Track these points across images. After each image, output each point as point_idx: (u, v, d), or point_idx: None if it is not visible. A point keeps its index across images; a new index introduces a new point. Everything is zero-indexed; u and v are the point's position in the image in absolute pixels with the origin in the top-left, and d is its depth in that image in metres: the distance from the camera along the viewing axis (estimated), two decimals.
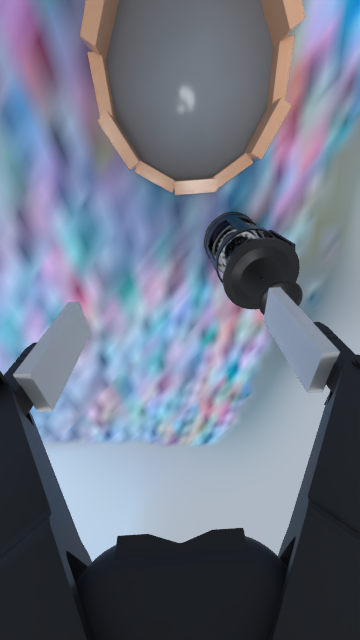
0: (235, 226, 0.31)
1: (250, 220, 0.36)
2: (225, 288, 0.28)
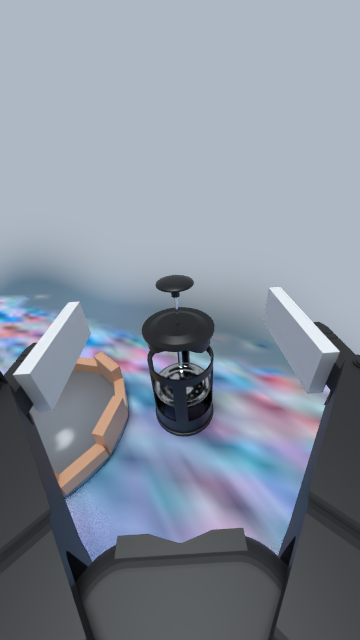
0: (150, 374, 0.32)
1: None
2: (179, 349, 0.25)
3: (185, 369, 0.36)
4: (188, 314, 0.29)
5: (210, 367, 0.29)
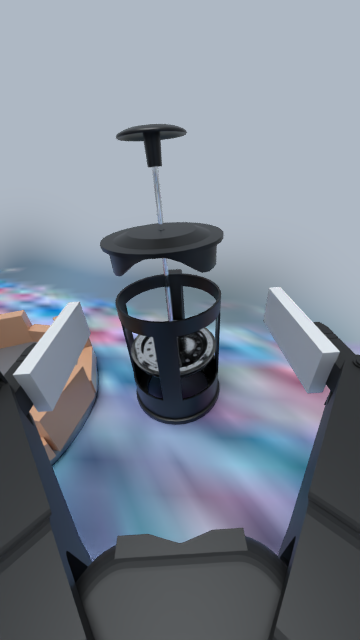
0: (123, 328, 0.21)
1: None
2: (161, 253, 0.13)
3: None
4: (180, 223, 0.18)
5: (216, 307, 0.18)
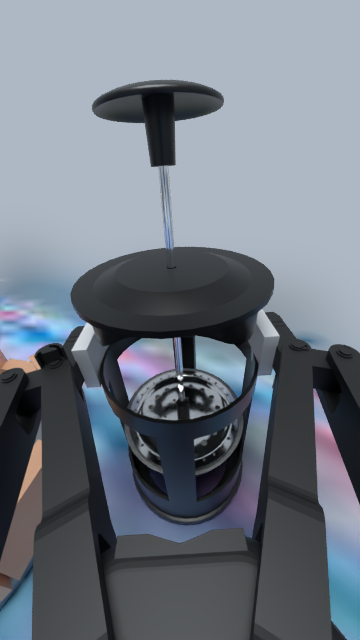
0: (113, 395, 0.15)
1: None
2: (174, 328, 0.07)
3: (188, 382, 0.19)
4: (198, 252, 0.12)
5: (254, 384, 0.11)
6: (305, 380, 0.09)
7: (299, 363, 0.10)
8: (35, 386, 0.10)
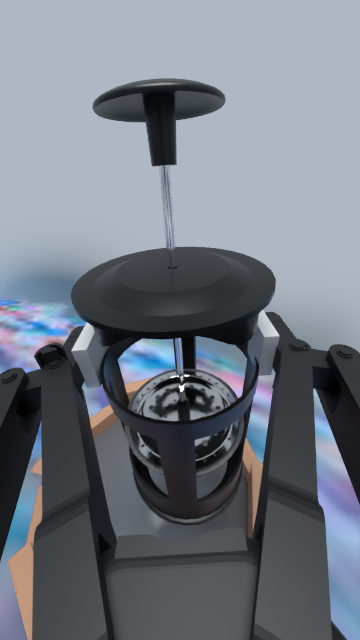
0: None
1: None
2: (175, 329, 0.07)
3: (189, 382, 0.19)
4: (199, 252, 0.12)
5: (255, 384, 0.11)
6: (305, 380, 0.09)
7: (299, 363, 0.10)
8: (35, 386, 0.10)
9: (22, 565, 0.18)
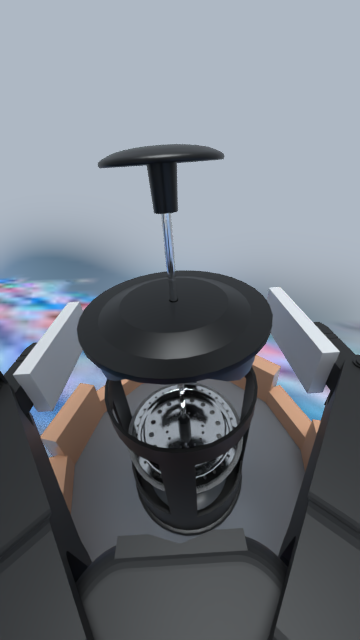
0: None
1: None
2: (176, 375, 0.07)
3: (190, 396, 0.19)
4: (199, 281, 0.12)
5: (253, 409, 0.12)
6: None
7: None
8: None
9: None
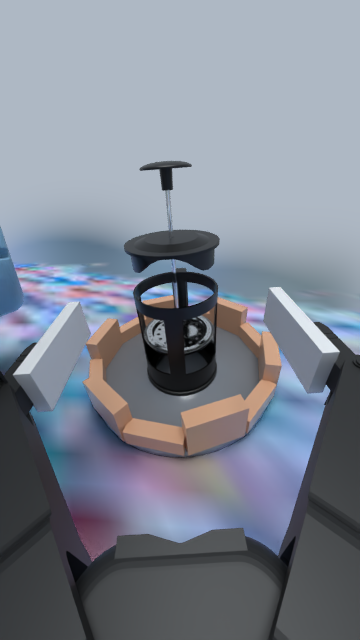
0: (138, 315, 0.26)
1: None
2: (171, 255, 0.18)
3: None
4: (185, 231, 0.23)
5: (214, 298, 0.22)
6: None
7: None
8: None
9: (94, 382, 0.24)
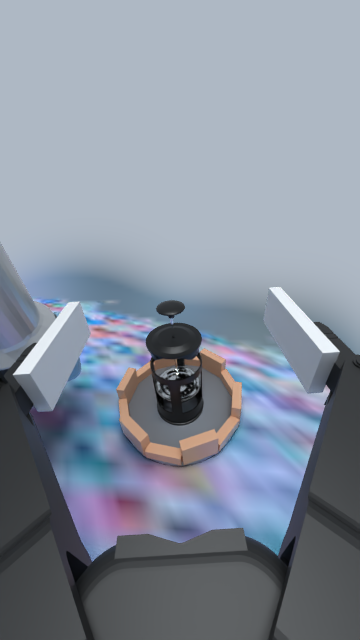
0: (152, 375, 0.41)
1: None
2: (174, 357, 0.33)
3: (180, 371, 0.45)
4: (182, 329, 0.38)
5: (199, 370, 0.37)
6: None
7: None
8: None
9: (126, 420, 0.38)
